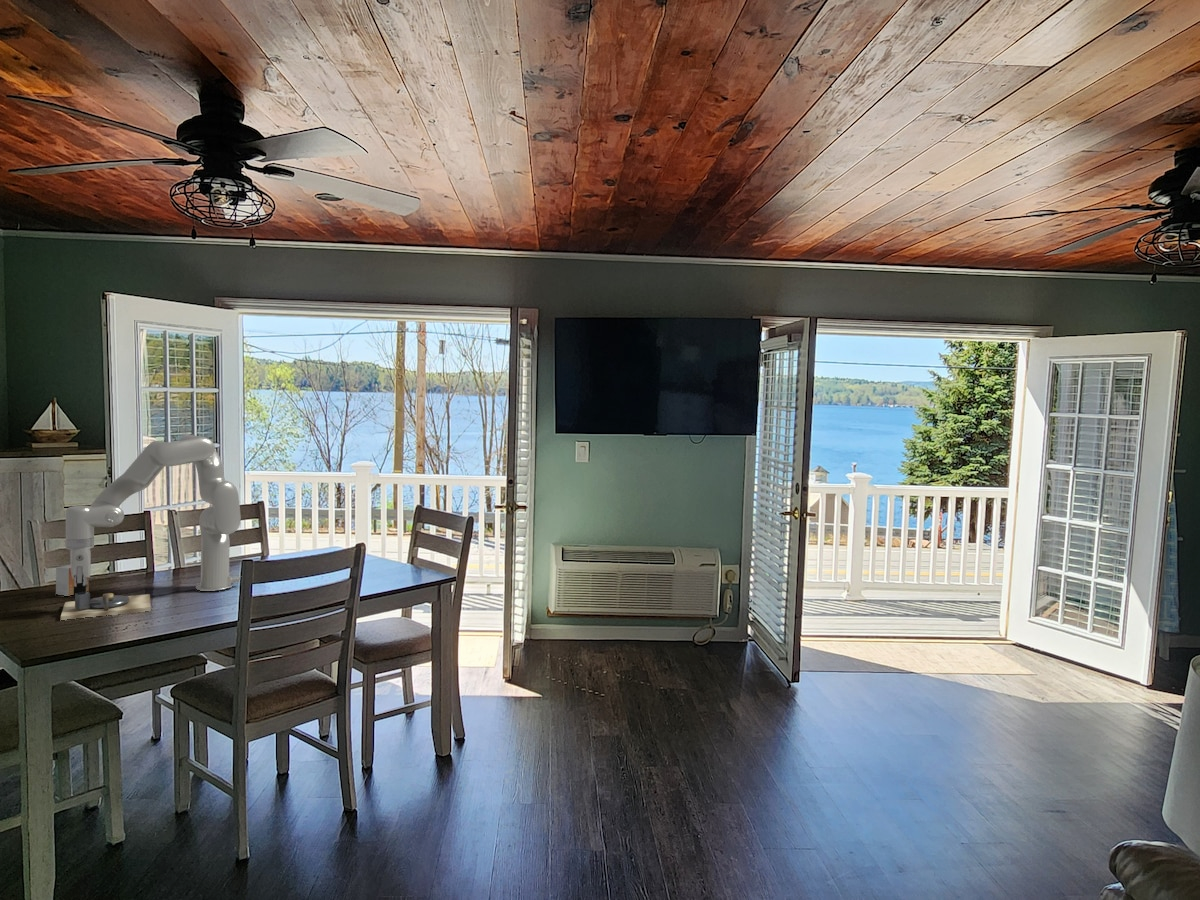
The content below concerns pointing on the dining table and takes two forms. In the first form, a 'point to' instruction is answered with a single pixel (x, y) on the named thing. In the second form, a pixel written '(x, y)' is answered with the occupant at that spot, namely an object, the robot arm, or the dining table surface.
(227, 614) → the dining table surface
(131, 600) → the post board
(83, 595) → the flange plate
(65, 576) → the small box
